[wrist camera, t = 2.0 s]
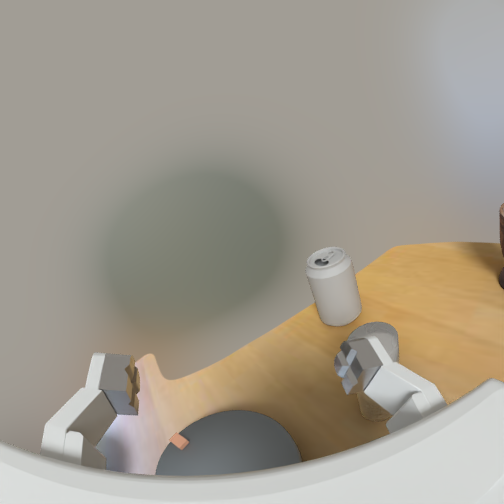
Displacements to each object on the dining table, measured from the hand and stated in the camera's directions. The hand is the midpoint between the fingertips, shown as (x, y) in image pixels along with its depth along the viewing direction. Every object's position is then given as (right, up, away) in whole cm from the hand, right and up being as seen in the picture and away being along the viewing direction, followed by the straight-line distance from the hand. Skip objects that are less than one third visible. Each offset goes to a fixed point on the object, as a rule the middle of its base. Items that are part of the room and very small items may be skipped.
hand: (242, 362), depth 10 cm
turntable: (-3, -22, +15) cm, 26 cm away
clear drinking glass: (+16, -14, +17) cm, 28 cm away
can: (+16, -7, +36) cm, 40 cm away
